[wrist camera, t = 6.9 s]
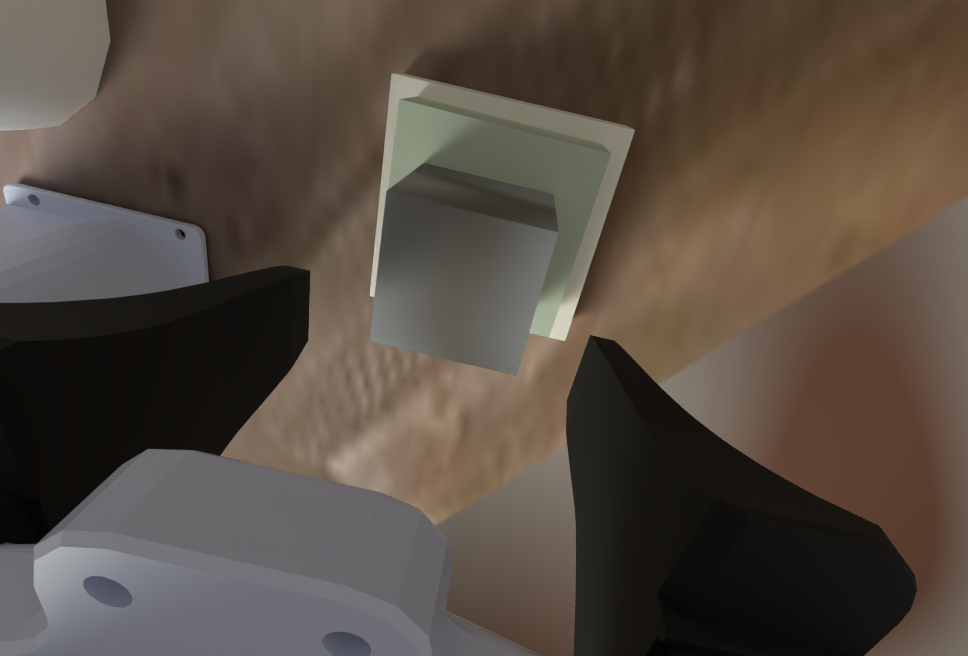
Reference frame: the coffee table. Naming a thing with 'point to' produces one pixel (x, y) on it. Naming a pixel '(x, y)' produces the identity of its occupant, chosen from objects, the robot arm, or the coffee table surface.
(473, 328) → the slate cube
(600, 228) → the tower base slab
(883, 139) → the coffee table surface
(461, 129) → the tower top slab
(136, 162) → the coffee table surface
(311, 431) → the coffee table surface
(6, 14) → the teardrop
